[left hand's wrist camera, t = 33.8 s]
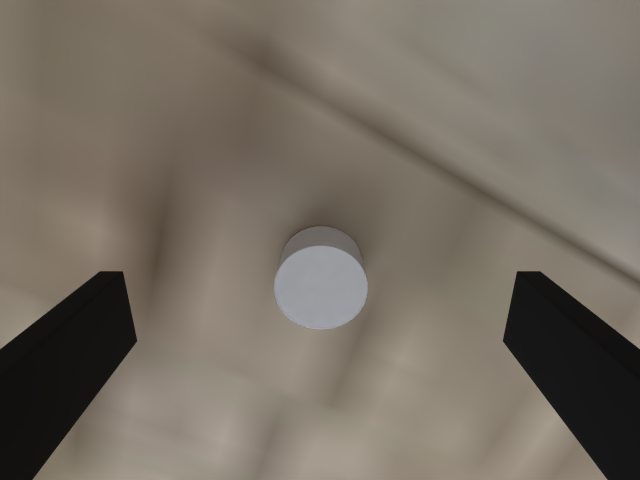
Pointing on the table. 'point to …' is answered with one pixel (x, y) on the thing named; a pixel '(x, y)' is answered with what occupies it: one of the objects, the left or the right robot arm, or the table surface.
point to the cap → (320, 278)
